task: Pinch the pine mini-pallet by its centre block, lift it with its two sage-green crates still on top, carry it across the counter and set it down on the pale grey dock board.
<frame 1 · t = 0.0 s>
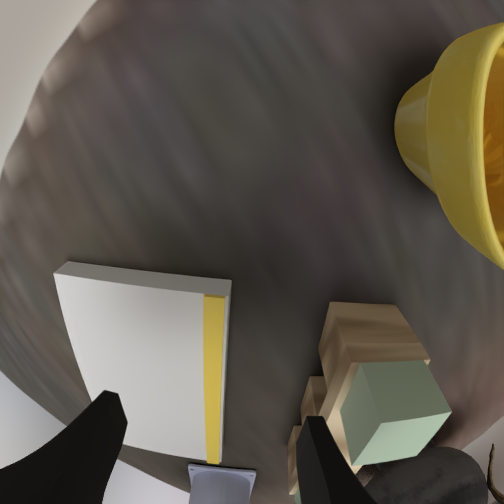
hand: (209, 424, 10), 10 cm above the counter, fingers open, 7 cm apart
pitcher: (415, 443, 28), on the counter
dock: (154, 377, 23), on the counter
pallet: (333, 392, 23), on the counter, touching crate, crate
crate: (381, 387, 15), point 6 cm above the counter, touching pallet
plant pot: (438, 133, 15), on the counter
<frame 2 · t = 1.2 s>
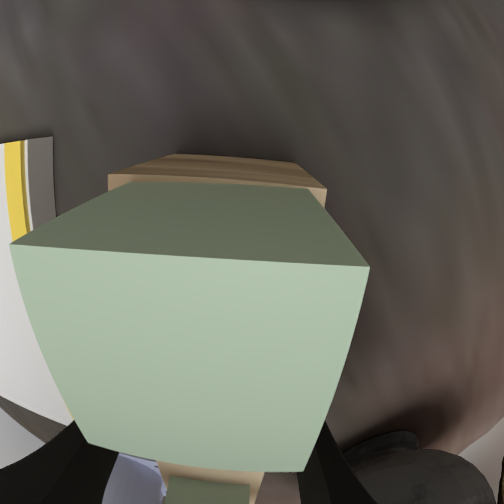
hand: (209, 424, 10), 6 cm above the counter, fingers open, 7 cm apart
pitcher: (390, 443, 20), on the counter
dock: (7, 298, 15), on the counter
pallet: (222, 338, 15), on the counter, touching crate, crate
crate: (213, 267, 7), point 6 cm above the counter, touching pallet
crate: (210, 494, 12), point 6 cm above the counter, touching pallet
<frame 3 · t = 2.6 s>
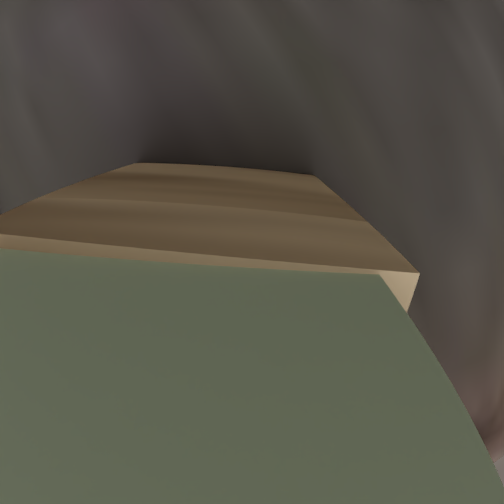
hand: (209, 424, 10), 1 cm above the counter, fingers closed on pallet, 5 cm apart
pallet: (213, 398, 11), on the counter, touching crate, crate, gripper
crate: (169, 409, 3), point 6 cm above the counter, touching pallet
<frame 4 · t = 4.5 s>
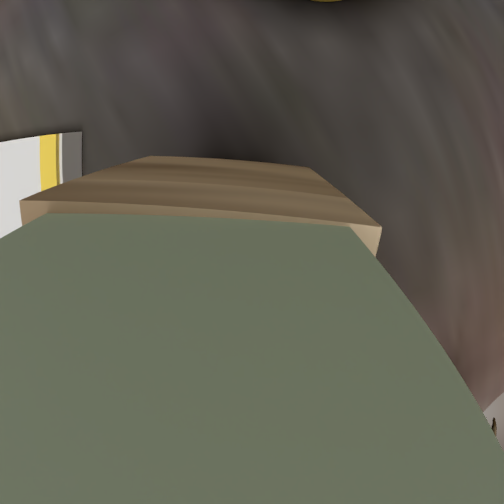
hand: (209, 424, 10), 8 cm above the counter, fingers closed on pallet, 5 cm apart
dock: (29, 278, 18), on the counter
pallet: (216, 378, 12), point 6 cm above the counter, touching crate, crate, gripper
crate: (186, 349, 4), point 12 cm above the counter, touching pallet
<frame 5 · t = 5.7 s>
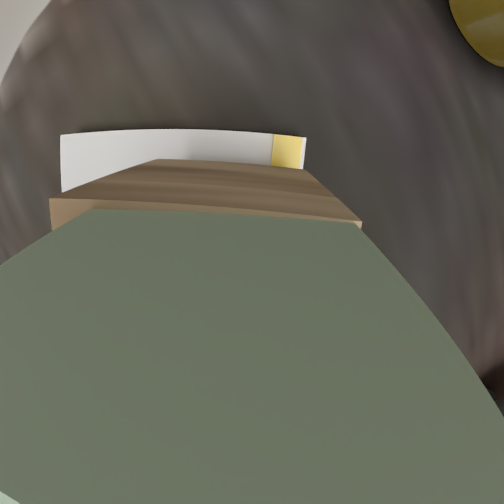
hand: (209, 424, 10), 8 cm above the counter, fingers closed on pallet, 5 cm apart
dock: (178, 303, 18), on the counter
pallet: (218, 368, 13), point 5 cm above the counter, touching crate, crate, gripper
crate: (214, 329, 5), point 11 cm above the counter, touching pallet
plant pot: (485, 23, 10), on the counter
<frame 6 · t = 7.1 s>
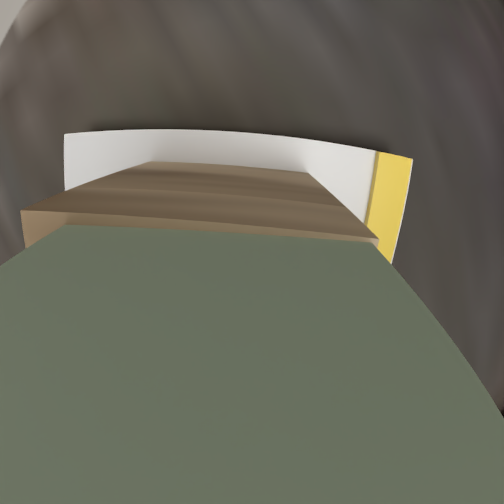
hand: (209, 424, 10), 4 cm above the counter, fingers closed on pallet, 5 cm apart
dock: (221, 351, 14), on the counter
pallet: (216, 381, 12), point 2 cm above the counter, touching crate, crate, dock, gripper
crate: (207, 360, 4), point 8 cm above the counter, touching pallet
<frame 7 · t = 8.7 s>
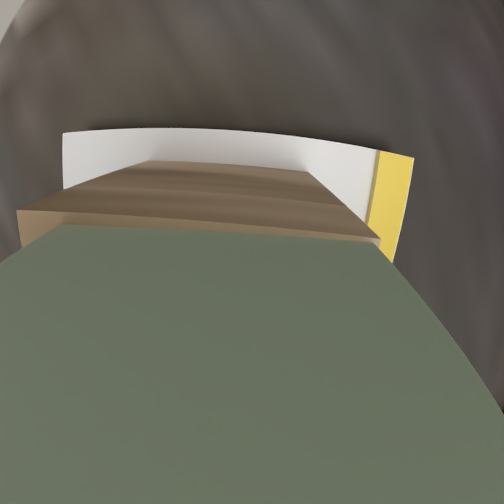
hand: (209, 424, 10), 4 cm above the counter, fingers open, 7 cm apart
dock: (221, 351, 14), on the counter
pallet: (216, 381, 12), point 2 cm above the counter, touching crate, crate, dock
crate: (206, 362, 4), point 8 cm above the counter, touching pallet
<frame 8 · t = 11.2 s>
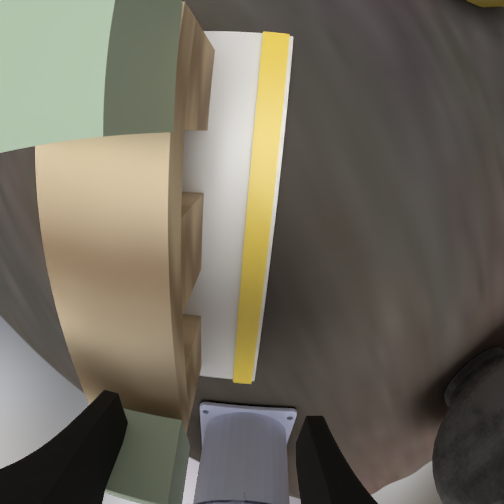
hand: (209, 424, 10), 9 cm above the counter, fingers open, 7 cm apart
pitcher: (486, 364, 22), on the counter
dock: (166, 216, 17), on the counter
pallet: (154, 228, 15), point 2 cm above the counter, touching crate, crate, dock
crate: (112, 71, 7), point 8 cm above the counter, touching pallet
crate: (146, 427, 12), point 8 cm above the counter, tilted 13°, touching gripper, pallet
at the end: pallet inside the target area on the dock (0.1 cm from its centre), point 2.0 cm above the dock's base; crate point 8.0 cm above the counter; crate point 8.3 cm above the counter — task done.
